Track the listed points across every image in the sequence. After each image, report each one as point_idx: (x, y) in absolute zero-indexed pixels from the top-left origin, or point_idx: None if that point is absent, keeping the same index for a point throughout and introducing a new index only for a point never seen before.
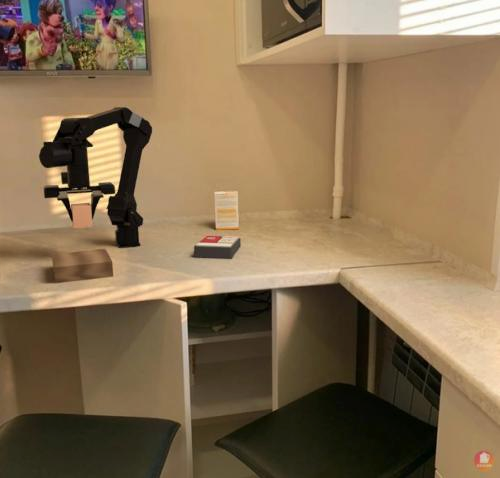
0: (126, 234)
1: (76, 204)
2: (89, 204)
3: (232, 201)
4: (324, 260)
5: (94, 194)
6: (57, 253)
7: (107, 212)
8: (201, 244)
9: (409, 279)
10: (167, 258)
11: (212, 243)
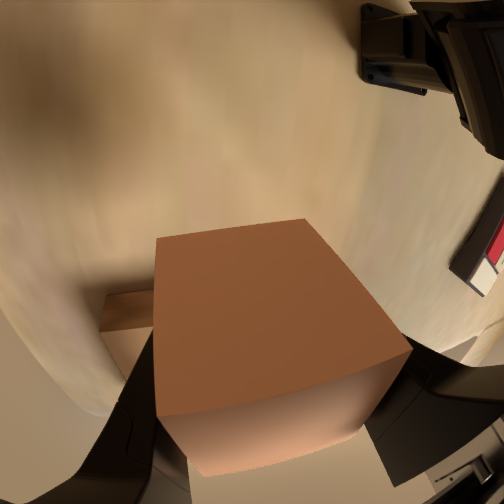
0: (423, 85)
1: (244, 432)
2: (366, 414)
3: None
4: (499, 303)
5: (431, 477)
6: (118, 333)
7: (462, 29)
8: (475, 280)
9: (479, 351)
10: (418, 262)
11: (487, 272)
